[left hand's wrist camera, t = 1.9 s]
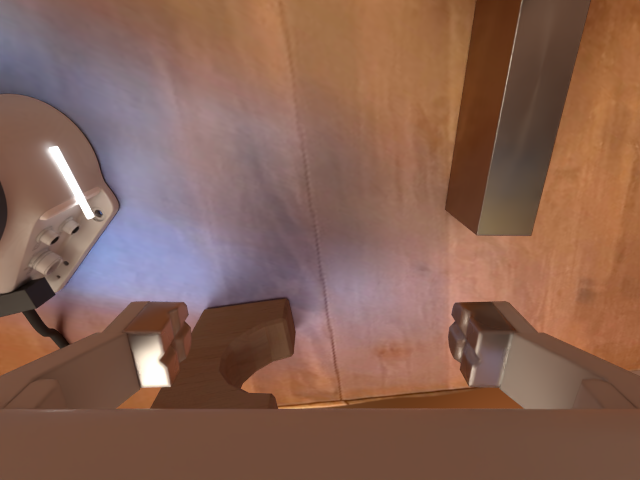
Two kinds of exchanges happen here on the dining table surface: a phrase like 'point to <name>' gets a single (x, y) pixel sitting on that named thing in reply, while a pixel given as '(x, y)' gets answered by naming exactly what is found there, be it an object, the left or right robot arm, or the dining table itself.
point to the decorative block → (231, 357)
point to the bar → (512, 111)
